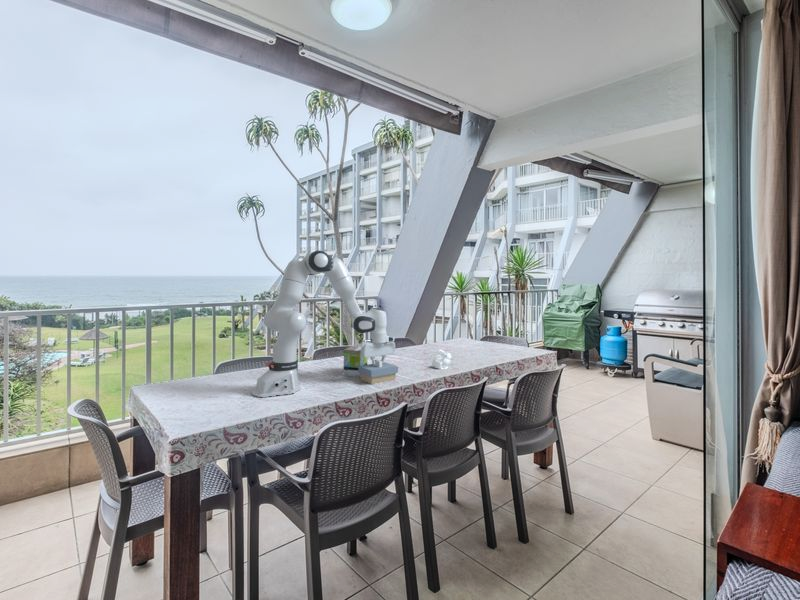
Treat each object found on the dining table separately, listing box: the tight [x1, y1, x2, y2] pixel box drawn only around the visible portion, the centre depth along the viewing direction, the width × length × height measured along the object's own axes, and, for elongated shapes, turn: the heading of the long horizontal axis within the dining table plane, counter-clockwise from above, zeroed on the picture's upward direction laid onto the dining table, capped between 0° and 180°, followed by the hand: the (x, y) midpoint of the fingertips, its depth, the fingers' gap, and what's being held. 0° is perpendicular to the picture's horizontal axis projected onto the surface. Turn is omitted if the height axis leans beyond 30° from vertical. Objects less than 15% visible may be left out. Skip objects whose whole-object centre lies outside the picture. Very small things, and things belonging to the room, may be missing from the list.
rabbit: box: [431, 349, 452, 370], centre depth 239 cm, size 12×9×12 cm
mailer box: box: [360, 373, 397, 385], centre depth 211 cm, size 15×11×7 cm
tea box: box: [342, 345, 369, 377], centre depth 225 cm, size 15×10×15 cm, turn 168°
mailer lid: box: [358, 359, 399, 377], centre depth 211 cm, size 17×13×6 cm
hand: (378, 364), depth 211 cm, fingers open, 3 cm apart
